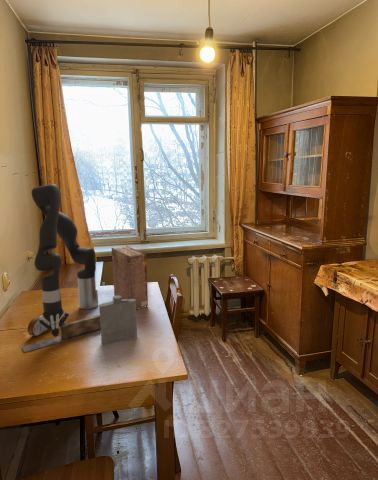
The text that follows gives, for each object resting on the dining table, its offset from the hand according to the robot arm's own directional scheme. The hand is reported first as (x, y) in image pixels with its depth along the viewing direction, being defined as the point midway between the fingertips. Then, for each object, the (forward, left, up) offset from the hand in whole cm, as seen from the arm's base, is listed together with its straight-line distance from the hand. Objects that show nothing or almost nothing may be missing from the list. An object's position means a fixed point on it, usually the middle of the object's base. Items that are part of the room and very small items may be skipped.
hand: (55, 335), depth 156 cm
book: (-47, -22, -3) cm, 52 cm away
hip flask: (-23, +15, -3) cm, 28 cm away
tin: (+3, -13, -3) cm, 13 cm away
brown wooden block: (-12, 0, -2) cm, 13 cm away
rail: (-4, 0, -2) cm, 5 cm away
